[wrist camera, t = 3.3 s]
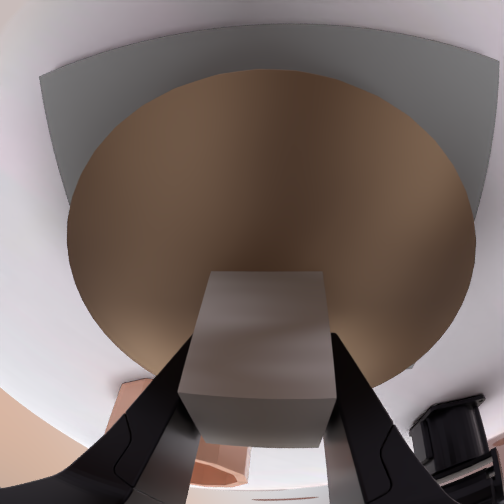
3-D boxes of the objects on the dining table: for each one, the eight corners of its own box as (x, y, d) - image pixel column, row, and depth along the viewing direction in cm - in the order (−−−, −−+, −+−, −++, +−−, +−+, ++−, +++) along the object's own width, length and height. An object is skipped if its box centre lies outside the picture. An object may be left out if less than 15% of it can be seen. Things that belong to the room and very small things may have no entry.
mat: (484, 58, 7) (499, 61, 6) (408, 355, 17) (411, 368, 16) (54, 73, 9) (39, 76, 8) (144, 352, 19) (140, 364, 18)
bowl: (246, 388, 20) (238, 460, 16) (255, 443, 27) (251, 491, 23) (98, 370, 21) (75, 426, 17) (145, 429, 28) (133, 472, 24)
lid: (501, 99, 6) (625, 163, 2) (404, 387, 14) (418, 469, 10) (33, 115, 7) (-84, 181, 3) (143, 382, 15) (119, 459, 11)
